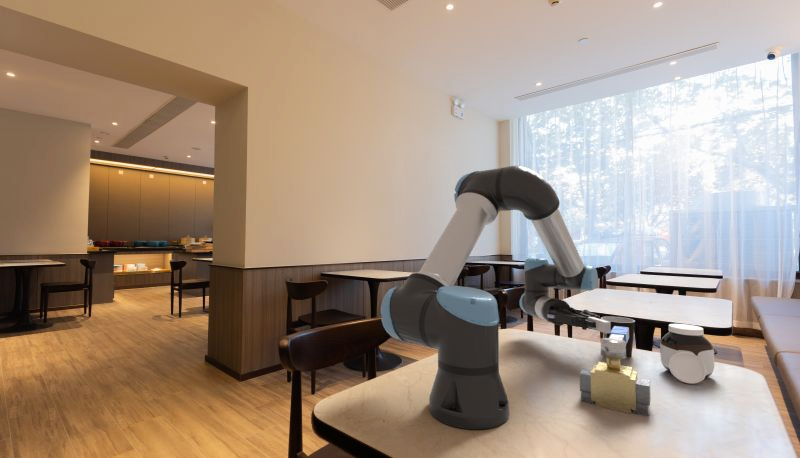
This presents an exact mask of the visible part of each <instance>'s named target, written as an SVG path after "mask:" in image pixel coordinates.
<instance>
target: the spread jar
mask: <svg viewBox="0 0 800 458" xmlns="http://www.w3.org/2000/svg"><path fill="white" fill-rule="evenodd" d="M704 335H705V334H704V328H703V327H701V326H699V325H693V324H692V325H691V324H687V323H686V324H685V323H684V324H683V323H669V324H668V332H667V333H666V334H664V336H662V338H661V340H660V345H659V346H660V347H659V348H660V350H659V351H660V353H659V355H660V361H661V364H662V366H663V367H664V369H665V370H667V372H669V373H670V374H671V375H673V377H674V378H675V379H677V380H678V381H680V382H682V383H684V384H689V385H690V384H699V383H700V382H702V381H703V380H705V379H707V378H709V377H710V376H711V375H712V374H713V373H714V370H715V351H714V346H713V345H712V343H711V341H709V339H707V338H706V337H705V336H704Z"/></svg>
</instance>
